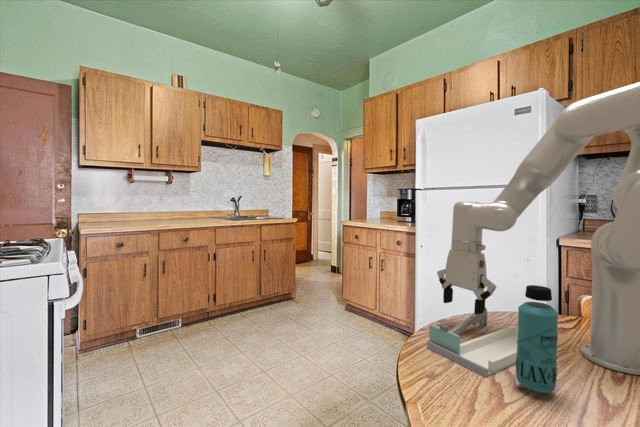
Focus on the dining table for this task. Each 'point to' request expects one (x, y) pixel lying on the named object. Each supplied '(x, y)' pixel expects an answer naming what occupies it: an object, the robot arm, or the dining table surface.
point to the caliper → (471, 322)
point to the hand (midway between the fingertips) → (462, 307)
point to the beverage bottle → (537, 342)
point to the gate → (444, 338)
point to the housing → (485, 351)
